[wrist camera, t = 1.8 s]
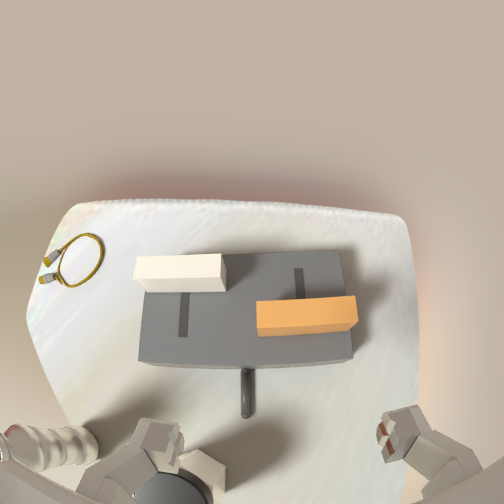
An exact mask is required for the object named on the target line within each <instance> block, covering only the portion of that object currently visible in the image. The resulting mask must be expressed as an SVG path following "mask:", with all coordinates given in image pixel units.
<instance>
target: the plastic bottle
mask: <svg viewBox="0 0 504 504" xmlns="http://www.w3.org/2000/svg"><path fill="white" fill-rule="evenodd" d="M98 451H99V450H98V443H97V441H96V439H95V437H94V436H93V435H92V434H91V432H90V431H88V430H87V429H86V428H84V427H80V426H76V425H72V426H67V427H64V428H61V429H53V430H50V429H39V428H35V427H31V426H27V425H23V424H15V425H12V426H10V427H9V428H8V429H7V430H6V431H5V433H4V434H2V433H0V462H3V461H7V460H11V459H15V460H17V461H19V462H21V463H23V464H24V465H26V466H28V467H29V468H31V469H32V470H34V471H36V472H41V471H44V470H46V469H49V468H52V467H57V466H61V465H71V464H76V465H87V464H90V463H91V462H93V461H95V460H96V458H97V456H98Z"/></svg>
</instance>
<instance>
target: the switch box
mask: <svg viewBox="0 0 504 504" xmlns="http://www.w3.org/2000/svg"><path fill="white" fill-rule="evenodd" d="M222 258H223V261H224V264H225V267H226V270H227V274H226V292H146V291H145V296H144V304H143V313H142V322H141V332H140V344H139V357H138V361H140V362H143V363H147V364H150V365H155V366H167V367H182V368H205V369H242V370H241V416H242V418H244V419H248V418H249V417H250V371H249V369H264V368H287V367H302V366H315V365H325V364H335V363H343V362H346V361H348V360H350V359H352V358H353V349H352V339H351V330H350V329H349V330H348V331H341V332H330V333H318V334H304V335H288V336H266V337H258V331H257V310H256V301H273V300H294V299H312V298H328V297H342V296H346V292H345V285H344V278H343V272H342V266H341V260H340V254H339V250H330V251H302V252H278V253H257V254H232V255H222Z"/></svg>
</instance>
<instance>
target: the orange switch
mask: <svg viewBox="0 0 504 504" xmlns="http://www.w3.org/2000/svg"><path fill="white" fill-rule="evenodd" d="M256 310H257V331H258V337H266V336H288V335H304V334H318V333H330V332H341V331H348V330H349V329H350V328H351V327H353V326H354V325H355V324H356V323H357V322H358V321H359V320H358V313H357V306H356V299H355V295H354V296H342V297H328V298H312V299H294V300H273V301H256Z"/></svg>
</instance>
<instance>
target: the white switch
mask: <svg viewBox="0 0 504 504" xmlns="http://www.w3.org/2000/svg"><path fill="white" fill-rule="evenodd" d="M226 274H227V270H226V267H225V264H224V261H223V258H222V255H221V254H197V255H172V256H148V257H137V258H136V264H135V269H134V275H133V279H134V280H135V281H136V282H137V283H138V284H139V285H140V286H141V287H142V288H143V289H144V290H145V291H146V292H226Z"/></svg>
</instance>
